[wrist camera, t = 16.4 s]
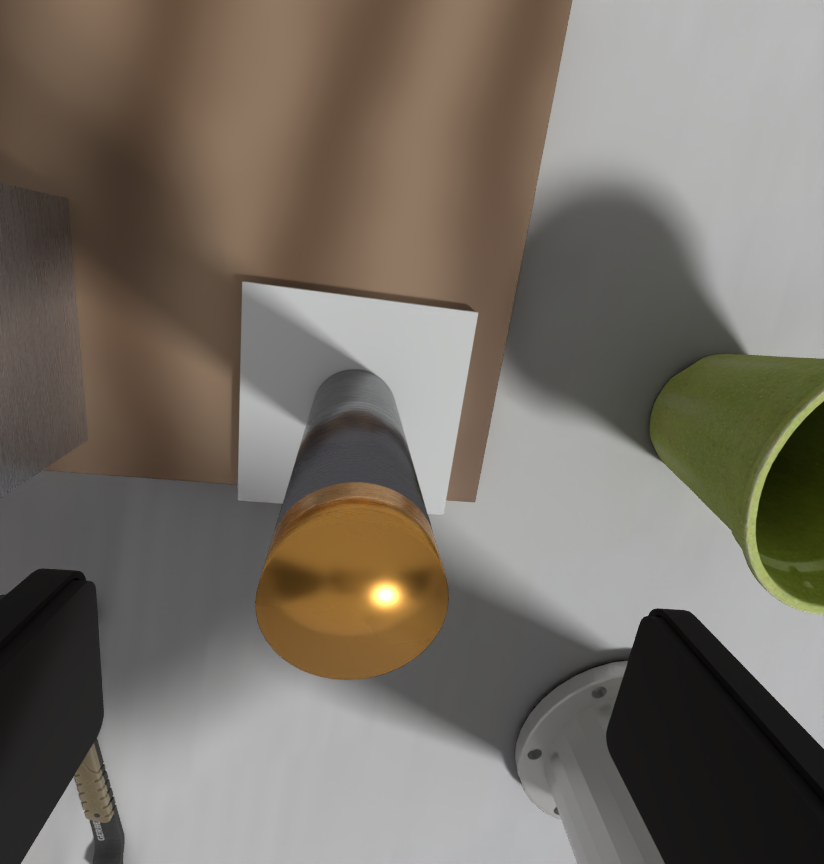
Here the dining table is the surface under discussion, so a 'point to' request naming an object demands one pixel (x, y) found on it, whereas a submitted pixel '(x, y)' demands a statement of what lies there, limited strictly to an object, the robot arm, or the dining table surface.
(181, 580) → the dining table surface
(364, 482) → the key peg
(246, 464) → the mat
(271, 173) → the walnut board
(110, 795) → the demolition pry bar
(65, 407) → the block
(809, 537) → the plant pot
